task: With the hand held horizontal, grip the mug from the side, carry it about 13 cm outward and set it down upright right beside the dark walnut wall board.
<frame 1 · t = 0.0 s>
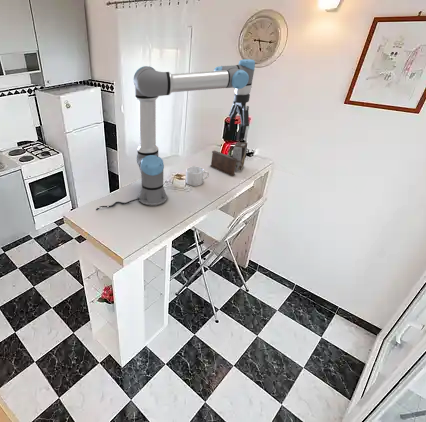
hand: (236, 134, 160), 28 cm above the counter, tool pointing down, fingers open, 13 cm apart
coffee box: (236, 168, 187), on the counter
mug: (196, 182, 174), on the counter
wall board: (222, 170, 186), on the counter
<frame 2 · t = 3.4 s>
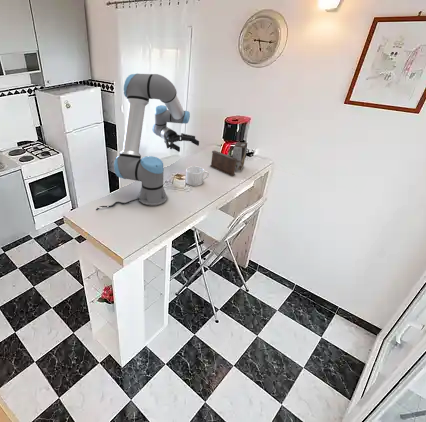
hand: (189, 146, 169), 20 cm above the counter, tool horizontal, fingers open, 13 cm apart
nothing on the counter moved.
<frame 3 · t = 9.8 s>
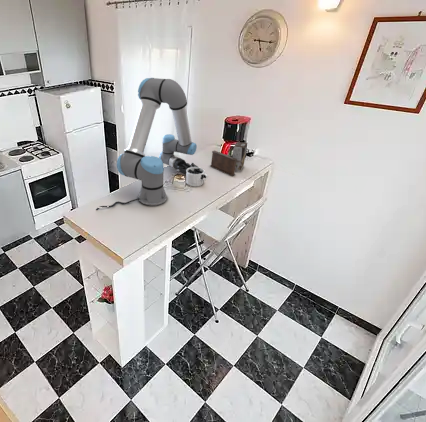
hand: (204, 176, 167), 6 cm above the counter, tool horizontal, fingers closed on mug, 2 cm apart
mug: (196, 183, 173), on the counter, touching gripper
everything else where it was.
when the fingers open (6 cm above the counter, at t = 17.0 s): mug stays where it is, on the counter.
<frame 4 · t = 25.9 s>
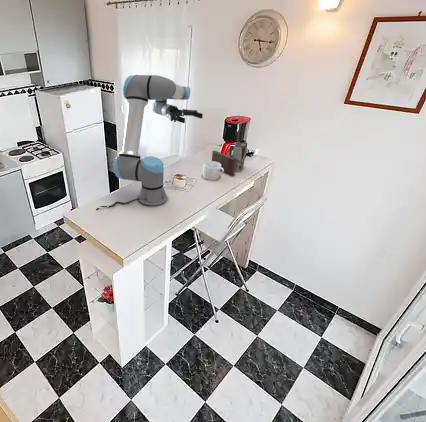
hand: (193, 118, 168), 34 cm above the counter, tool horizontal, fingers open, 13 cm apart
mug: (212, 177, 179), on the counter
everything else where it was.
at the end: mug 11.8 cm from the wall board (horizontally); mug tilted 0°; the gripper is holding nothing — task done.
